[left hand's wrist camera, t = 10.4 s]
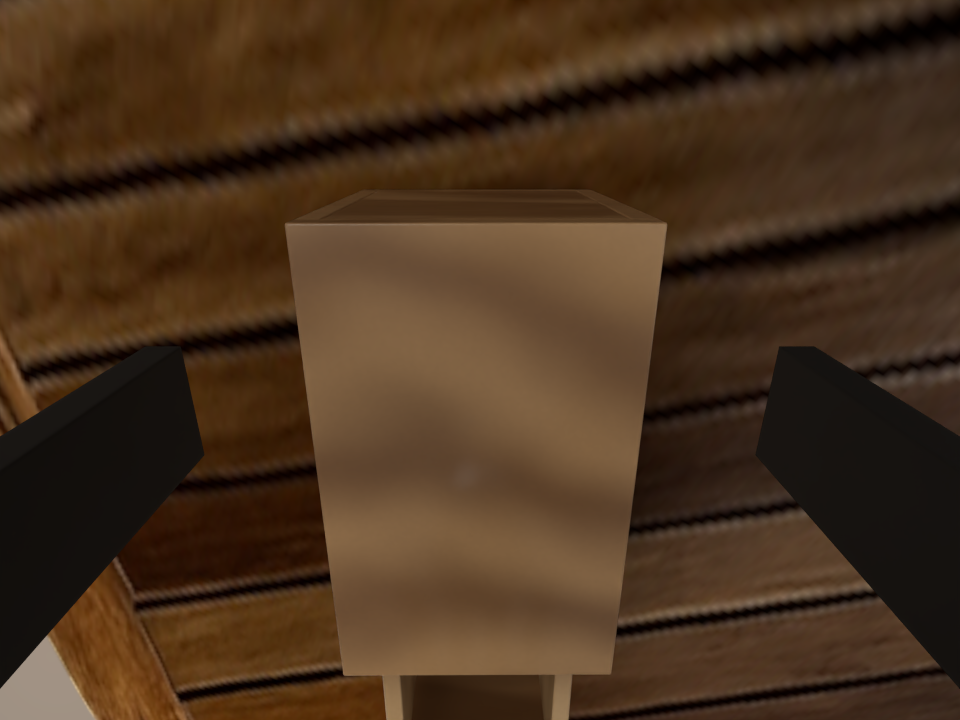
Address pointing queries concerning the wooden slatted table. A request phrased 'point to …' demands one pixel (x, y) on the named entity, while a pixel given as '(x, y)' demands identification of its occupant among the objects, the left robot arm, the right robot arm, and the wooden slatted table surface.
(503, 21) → the wooden slatted table surface
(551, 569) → the cabinet
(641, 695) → the wooden slatted table surface
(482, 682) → the drawer
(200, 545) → the wooden slatted table surface
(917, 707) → the wooden slatted table surface
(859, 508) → the left robot arm
